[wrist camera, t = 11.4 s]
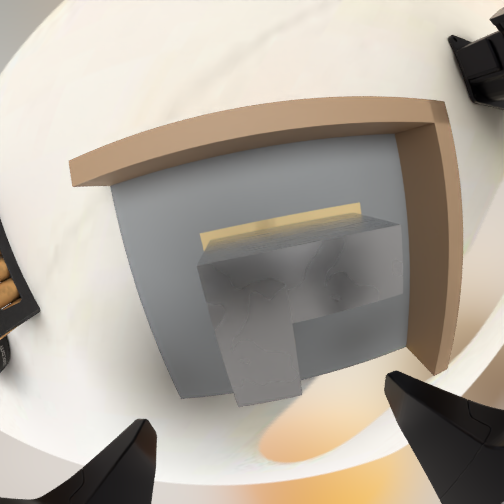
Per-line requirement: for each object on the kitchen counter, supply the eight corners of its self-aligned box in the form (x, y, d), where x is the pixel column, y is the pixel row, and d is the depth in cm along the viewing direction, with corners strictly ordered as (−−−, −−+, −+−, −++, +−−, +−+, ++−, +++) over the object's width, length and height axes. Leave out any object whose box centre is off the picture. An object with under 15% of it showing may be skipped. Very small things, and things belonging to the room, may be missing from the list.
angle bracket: (361, 322, 16) (397, 365, 11) (237, 350, 16) (238, 406, 11) (352, 212, 14) (400, 224, 10) (210, 239, 14) (196, 265, 10)
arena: (398, 117, 14) (444, 101, 9) (413, 336, 18) (447, 369, 13) (112, 166, 14) (68, 160, 9) (182, 391, 18) (172, 439, 13)
